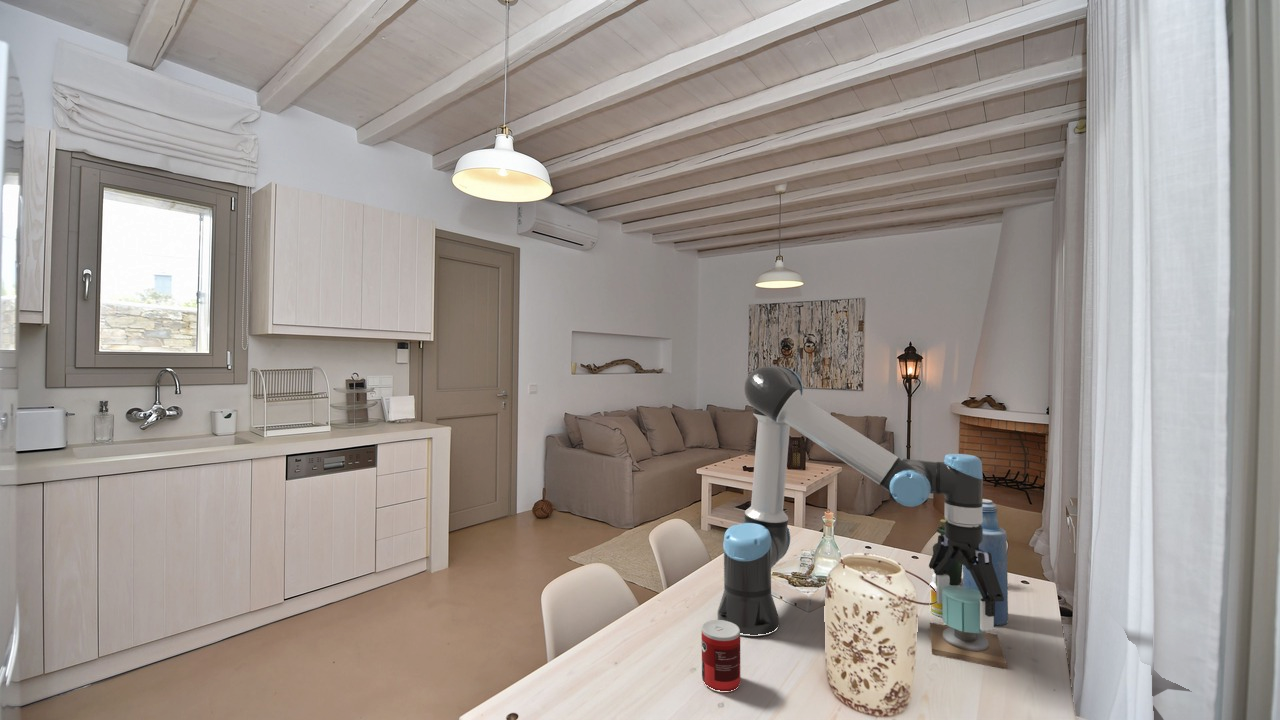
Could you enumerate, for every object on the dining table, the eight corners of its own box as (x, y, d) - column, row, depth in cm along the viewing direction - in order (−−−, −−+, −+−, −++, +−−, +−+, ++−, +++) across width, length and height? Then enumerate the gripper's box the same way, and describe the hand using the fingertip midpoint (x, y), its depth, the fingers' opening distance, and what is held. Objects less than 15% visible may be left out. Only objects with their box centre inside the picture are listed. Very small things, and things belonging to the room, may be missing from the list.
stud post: (932, 654, 122) (931, 601, 122) (929, 627, 134) (929, 580, 134) (1006, 669, 115) (1005, 614, 116) (997, 639, 128) (996, 589, 128)
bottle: (1017, 621, 137) (1015, 502, 137) (992, 629, 133) (990, 506, 133) (979, 606, 146) (977, 494, 146) (955, 614, 141) (953, 498, 142)
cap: (978, 617, 128) (978, 587, 128) (994, 635, 119) (993, 602, 120) (937, 613, 130) (937, 584, 130) (950, 631, 121) (949, 599, 122)
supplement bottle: (956, 619, 139) (956, 580, 139) (933, 617, 140) (933, 579, 140) (949, 609, 144) (948, 572, 144) (926, 608, 145) (926, 571, 145)
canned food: (714, 667, 116) (713, 616, 117) (747, 681, 111) (747, 627, 112) (694, 683, 111) (693, 629, 111) (728, 698, 106) (728, 641, 106)
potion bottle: (968, 588, 158) (967, 525, 158) (937, 585, 160) (936, 524, 160) (958, 577, 166) (957, 518, 166) (929, 575, 168) (928, 516, 168)
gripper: (1023, 538, 113) (1024, 641, 113) (940, 507, 138) (940, 591, 138) (991, 540, 112) (991, 643, 112) (913, 508, 137) (913, 593, 137)
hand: (963, 615), depth 125 cm, fingers open, 13 cm apart
